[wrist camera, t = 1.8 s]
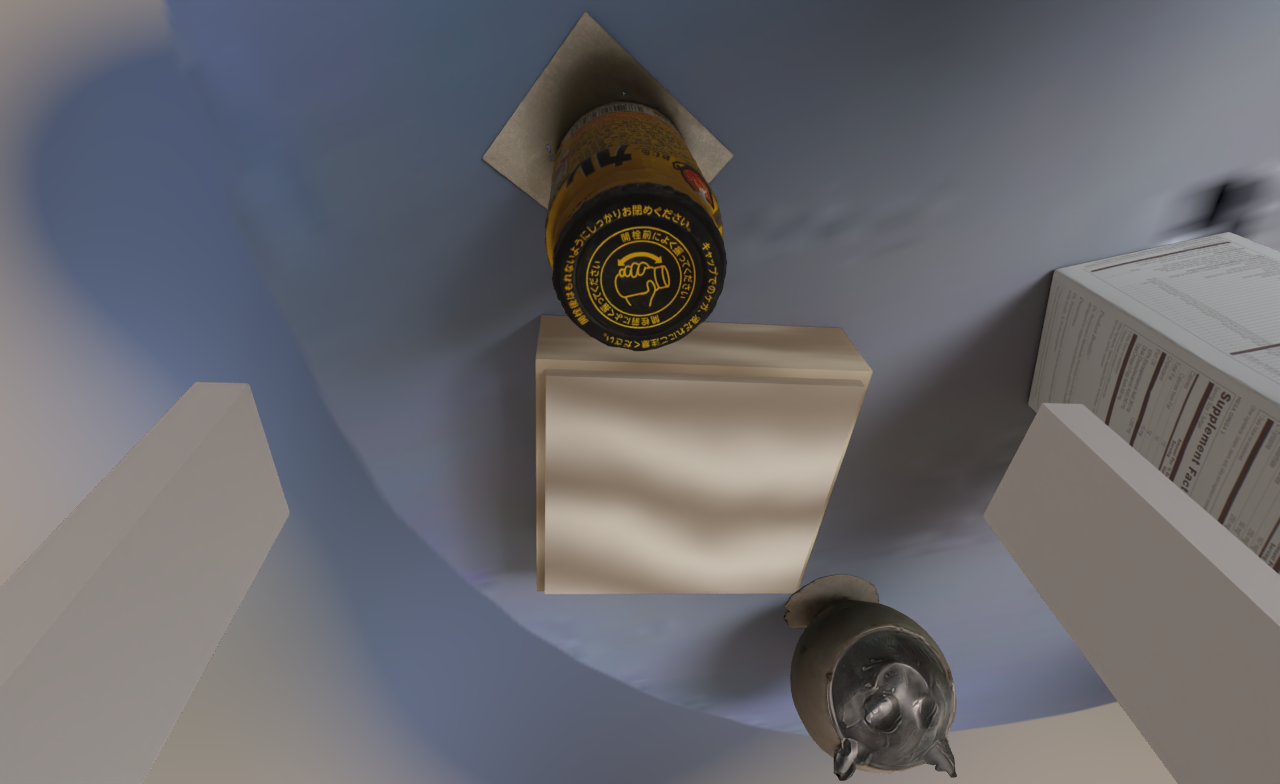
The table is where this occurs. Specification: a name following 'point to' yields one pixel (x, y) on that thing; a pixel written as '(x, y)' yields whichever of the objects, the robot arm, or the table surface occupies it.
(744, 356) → the podium
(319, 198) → the table surface
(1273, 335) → the supplement box
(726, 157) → the condiment
